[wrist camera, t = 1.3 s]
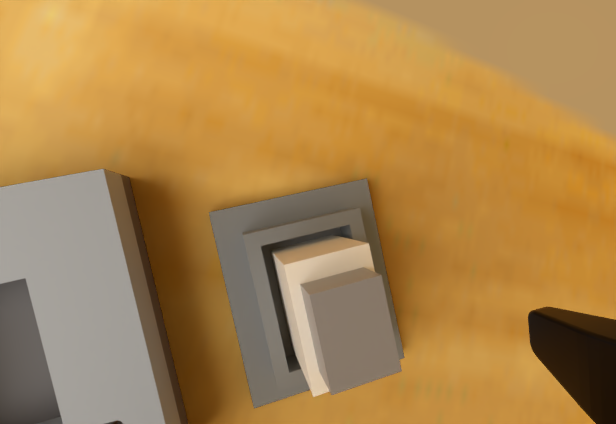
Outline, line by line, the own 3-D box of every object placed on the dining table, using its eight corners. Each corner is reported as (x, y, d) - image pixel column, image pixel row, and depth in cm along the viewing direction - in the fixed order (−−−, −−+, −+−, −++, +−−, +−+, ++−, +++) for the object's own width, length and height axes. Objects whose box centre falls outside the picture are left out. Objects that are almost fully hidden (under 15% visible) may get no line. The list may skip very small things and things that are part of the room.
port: (191, 436, 21) (180, 493, 17) (-83, 530, 18) (-181, 628, 14) (129, 177, 20) (100, 168, 16) (-167, 232, 17) (-296, 238, 13)
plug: (352, 326, 22) (417, 390, 14) (291, 345, 21) (324, 424, 13) (332, 234, 22) (387, 247, 14) (270, 250, 21) (291, 272, 13)
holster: (397, 351, 24) (420, 371, 21) (253, 399, 22) (256, 429, 19) (361, 180, 23) (379, 175, 20) (210, 212, 21) (205, 212, 18)
